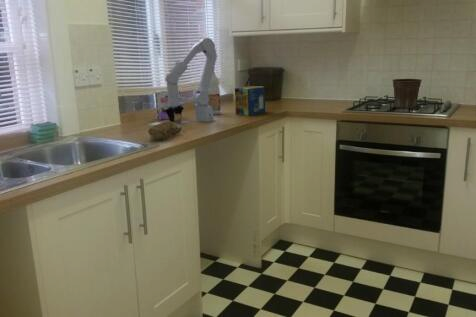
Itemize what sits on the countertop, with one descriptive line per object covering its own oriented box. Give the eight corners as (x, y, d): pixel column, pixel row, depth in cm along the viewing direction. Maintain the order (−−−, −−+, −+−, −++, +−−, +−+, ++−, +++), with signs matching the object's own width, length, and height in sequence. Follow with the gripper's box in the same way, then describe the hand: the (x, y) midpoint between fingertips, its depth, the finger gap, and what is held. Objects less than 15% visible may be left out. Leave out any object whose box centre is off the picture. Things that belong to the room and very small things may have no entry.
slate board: (191, 123, 241) (191, 121, 241) (168, 128, 226) (168, 127, 226) (168, 121, 250) (168, 120, 249) (145, 126, 235) (145, 125, 235)
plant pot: (424, 108, 256) (426, 80, 252) (396, 109, 256) (397, 81, 252) (414, 105, 272) (415, 78, 268) (387, 106, 272) (388, 79, 268)
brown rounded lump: (166, 135, 217) (136, 134, 200) (169, 119, 216) (140, 117, 198) (187, 142, 210) (158, 142, 193) (190, 126, 209) (162, 124, 192)
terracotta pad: (174, 121, 244) (174, 120, 244) (167, 122, 240) (167, 122, 240) (166, 120, 248) (166, 120, 248) (158, 122, 243) (158, 121, 243)
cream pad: (164, 123, 238) (164, 122, 238) (156, 125, 233) (156, 124, 233) (156, 122, 241) (156, 122, 241) (148, 124, 236) (148, 124, 236)
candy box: (157, 121, 253) (155, 91, 249) (156, 119, 258) (154, 90, 254) (182, 119, 256) (179, 90, 252) (180, 117, 262) (178, 89, 258)
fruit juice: (202, 113, 273) (199, 67, 266) (215, 112, 278) (213, 66, 271) (210, 115, 265) (207, 67, 258) (223, 113, 270) (221, 66, 263)
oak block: (181, 122, 240) (180, 113, 239) (175, 123, 236) (175, 115, 235) (174, 121, 242) (174, 113, 241) (169, 123, 239) (168, 114, 237)
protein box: (235, 114, 264) (234, 88, 261) (253, 111, 275) (252, 85, 271) (248, 116, 257) (247, 88, 254) (266, 112, 268) (265, 86, 264)
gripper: (176, 94, 244) (178, 118, 247) (158, 97, 232) (160, 123, 235) (186, 94, 240) (188, 119, 243) (168, 97, 228) (170, 123, 231)
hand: (175, 121), depth 239 cm, fingers closed on oak block, 4 cm apart
